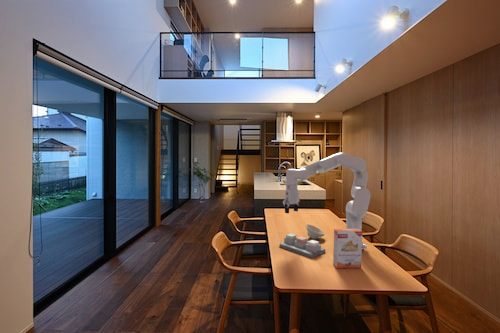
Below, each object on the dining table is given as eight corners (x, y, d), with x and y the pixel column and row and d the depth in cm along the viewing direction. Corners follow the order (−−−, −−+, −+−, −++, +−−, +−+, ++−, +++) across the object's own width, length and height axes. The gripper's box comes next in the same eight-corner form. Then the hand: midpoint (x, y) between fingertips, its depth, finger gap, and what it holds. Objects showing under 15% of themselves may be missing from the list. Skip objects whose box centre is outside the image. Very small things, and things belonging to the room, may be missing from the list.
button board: (325, 252, 165) (325, 243, 164) (311, 258, 155) (311, 249, 155) (293, 241, 184) (293, 234, 184) (279, 246, 174) (279, 238, 174)
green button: (296, 239, 176) (296, 235, 176) (291, 240, 173) (291, 236, 172) (290, 237, 180) (290, 233, 179) (286, 239, 176) (286, 234, 176)
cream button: (318, 246, 162) (318, 241, 162) (314, 248, 159) (314, 243, 159) (312, 244, 166) (312, 239, 166) (307, 246, 163) (307, 241, 163)
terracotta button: (307, 242, 169) (307, 238, 169) (302, 244, 166) (302, 239, 166) (301, 240, 173) (301, 236, 173) (296, 242, 170) (296, 238, 169)
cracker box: (337, 269, 140) (337, 231, 139) (332, 264, 146) (333, 228, 145) (361, 268, 141) (362, 231, 140) (356, 263, 147) (357, 227, 146)
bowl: (325, 242, 182) (325, 228, 182) (305, 241, 185) (305, 227, 185) (323, 236, 197) (323, 223, 197) (305, 234, 200) (305, 222, 199)
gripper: (287, 188, 166) (287, 215, 167) (304, 186, 177) (303, 211, 178) (279, 187, 172) (278, 213, 172) (295, 185, 183) (295, 209, 184)
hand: (291, 212), depth 175 cm, fingers open, 8 cm apart
